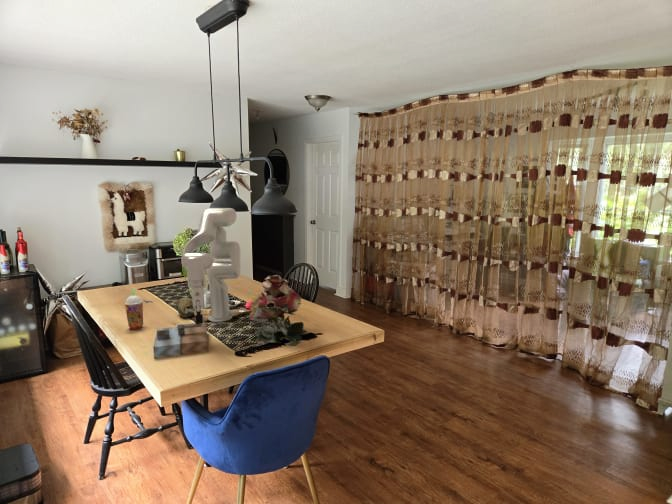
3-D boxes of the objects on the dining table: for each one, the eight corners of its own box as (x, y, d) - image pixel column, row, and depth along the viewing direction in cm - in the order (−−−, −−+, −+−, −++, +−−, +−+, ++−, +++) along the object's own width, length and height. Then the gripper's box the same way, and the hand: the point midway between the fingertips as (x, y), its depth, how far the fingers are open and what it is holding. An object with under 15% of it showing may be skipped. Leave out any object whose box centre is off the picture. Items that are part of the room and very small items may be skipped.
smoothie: (125, 331, 210) (121, 292, 207) (129, 325, 218) (125, 288, 215) (143, 329, 213) (140, 291, 209) (146, 324, 220) (143, 287, 217)
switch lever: (177, 329, 188) (176, 314, 187) (177, 327, 192) (176, 312, 191) (203, 326, 192) (202, 311, 191) (203, 324, 195) (202, 309, 194)
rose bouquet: (304, 324, 217) (302, 268, 212) (301, 346, 189) (300, 281, 184) (254, 325, 217) (252, 269, 212) (244, 347, 188) (241, 282, 183)
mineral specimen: (203, 317, 231) (202, 299, 230) (179, 320, 226) (177, 303, 224) (199, 310, 244) (198, 293, 243) (175, 313, 238) (174, 296, 237)
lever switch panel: (206, 333, 207) (205, 315, 205) (208, 351, 184) (207, 332, 183) (158, 338, 200) (156, 321, 198) (154, 358, 177) (152, 338, 176)
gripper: (205, 286, 183) (208, 326, 186) (204, 278, 199) (207, 315, 202) (187, 287, 181) (190, 328, 184) (188, 279, 196) (190, 317, 199)
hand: (199, 321), depth 193 cm, fingers closed on switch lever, 3 cm apart
